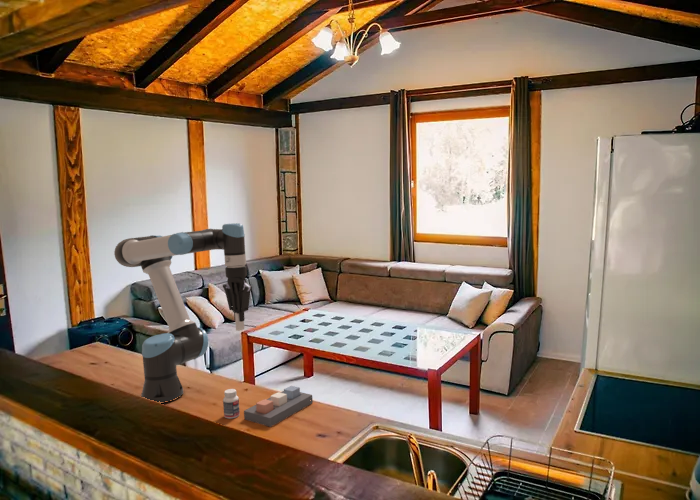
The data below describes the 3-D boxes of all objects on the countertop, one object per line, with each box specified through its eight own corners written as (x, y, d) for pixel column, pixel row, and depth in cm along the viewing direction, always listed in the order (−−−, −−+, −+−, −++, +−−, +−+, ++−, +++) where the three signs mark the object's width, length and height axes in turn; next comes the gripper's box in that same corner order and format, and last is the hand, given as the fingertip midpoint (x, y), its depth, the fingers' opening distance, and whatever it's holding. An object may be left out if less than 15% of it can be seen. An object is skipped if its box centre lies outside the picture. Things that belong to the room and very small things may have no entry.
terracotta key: (256, 414, 176) (256, 403, 175) (265, 410, 179) (264, 399, 179) (265, 417, 174) (264, 405, 173) (273, 412, 177) (273, 401, 176)
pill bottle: (235, 419, 177) (234, 394, 176) (221, 418, 178) (219, 393, 177) (242, 412, 182) (240, 388, 181) (228, 412, 183) (226, 387, 182)
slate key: (284, 400, 187) (283, 389, 187) (291, 396, 191) (291, 385, 190) (293, 402, 185) (292, 391, 185) (300, 398, 188) (299, 387, 188)
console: (244, 419, 177) (243, 410, 176) (287, 396, 195) (286, 389, 194) (270, 426, 170) (270, 418, 170) (312, 402, 188) (312, 394, 188)
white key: (271, 407, 182) (270, 396, 181) (278, 403, 185) (278, 392, 184) (279, 409, 179) (279, 398, 179) (287, 405, 183) (286, 394, 182)
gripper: (215, 266, 190) (220, 330, 192) (240, 268, 182) (245, 334, 185) (231, 263, 196) (235, 325, 199) (256, 265, 189) (260, 329, 191)
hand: (240, 329), depth 192 cm, fingers closed
